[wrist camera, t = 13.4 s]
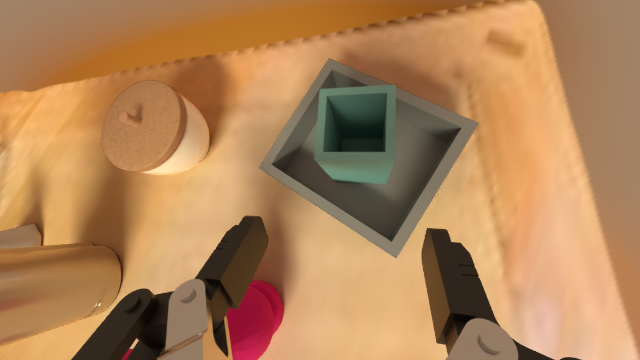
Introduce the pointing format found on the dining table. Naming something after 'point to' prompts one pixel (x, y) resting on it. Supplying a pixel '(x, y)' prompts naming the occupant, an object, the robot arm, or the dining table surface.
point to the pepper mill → (252, 321)
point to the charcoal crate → (406, 174)
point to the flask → (20, 237)
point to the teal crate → (356, 133)
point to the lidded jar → (154, 130)
